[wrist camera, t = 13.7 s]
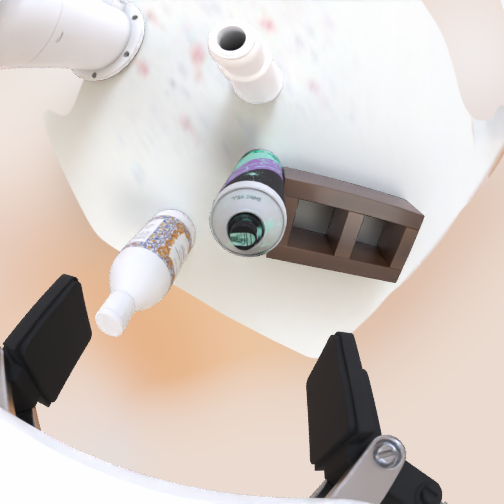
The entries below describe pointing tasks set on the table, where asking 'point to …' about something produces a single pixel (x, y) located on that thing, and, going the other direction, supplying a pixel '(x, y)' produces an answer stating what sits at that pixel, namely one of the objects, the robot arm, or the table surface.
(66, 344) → the robot arm
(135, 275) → the bath foam
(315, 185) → the rack
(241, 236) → the spray can
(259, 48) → the cosmetic bottle
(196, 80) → the table surface
